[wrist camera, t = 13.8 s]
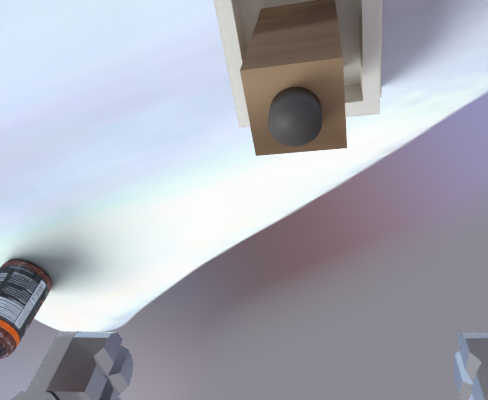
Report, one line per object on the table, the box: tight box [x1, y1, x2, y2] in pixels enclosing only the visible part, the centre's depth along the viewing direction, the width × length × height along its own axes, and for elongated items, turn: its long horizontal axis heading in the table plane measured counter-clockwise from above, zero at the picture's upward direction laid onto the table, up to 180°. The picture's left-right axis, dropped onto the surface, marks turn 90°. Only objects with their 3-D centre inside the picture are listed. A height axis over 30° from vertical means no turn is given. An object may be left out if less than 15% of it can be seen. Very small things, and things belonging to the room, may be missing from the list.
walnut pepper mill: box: [240, 0, 347, 156], centre depth 24 cm, size 4×4×11 cm
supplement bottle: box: [0, 260, 51, 359], centre depth 45 cm, size 6×6×11 cm
